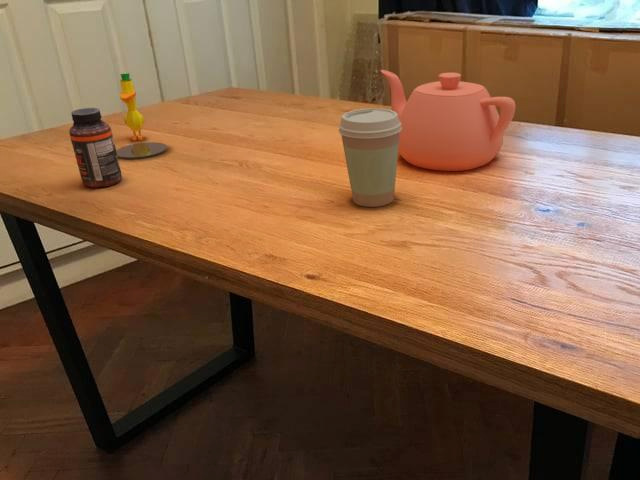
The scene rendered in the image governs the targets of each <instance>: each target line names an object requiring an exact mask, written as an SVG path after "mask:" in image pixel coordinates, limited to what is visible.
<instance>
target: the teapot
mask: <svg viewBox="0 0 640 480" xmlns="http://www.w3.org/2000/svg"><path fill="white" fill-rule="evenodd" d="M380 72H381V74H382V75H383V76H384V77H385V79H386V80H387V82H388V84H389V88H390V98H391V99H390V108H391V109H390V110H392V111H394V112H396V113H397V115H398V118H399V121H400V122H401V127H402V130H401V131H400V134H399V147H398V154H400V156H401V157H402V159H403V160H405V162H407V163H408V164H410V165H412V166H415V167H418V168H422V169H426V170H432V171H441V172H443V171H445V172H462V171H470V170H474V169H478V168H480V167H483V166H485V165H487V164H488V163H490V162H491V161H492V160H493V159H494V158H495V157H496V155H498V153H499V152H500V150H501V149H502V147H503V144H504V133H505V132H506V130H507V129H508V127H509V125H510V124H511V122H512V121H513V118H514V116H515V113H516V107H517V106H516V102H515V100H514V99H512V97H509V96H491V95H490V92H489V91H488V89H487V88H486V86H484V85H482V84H479V83H475V82H468V81H461V78H462V74H461V73H459V72H452V71H451V72H449V71H448V72H442V73H440V74H438V80H439V81H432V82H428V83H427V82H426V83H424V84H420V85H418V86H416V87H415V88H414V89H413V90H412V92H411V93H410V95H409V98H408V99H406V95H405V90H404V87H403V82H402V81H401V80H400V78H399V76H398V75H397V74H395V72H391V71H389V70H386V69H380ZM497 107H498V108H499V110H500V112H498V108H497Z"/></svg>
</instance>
